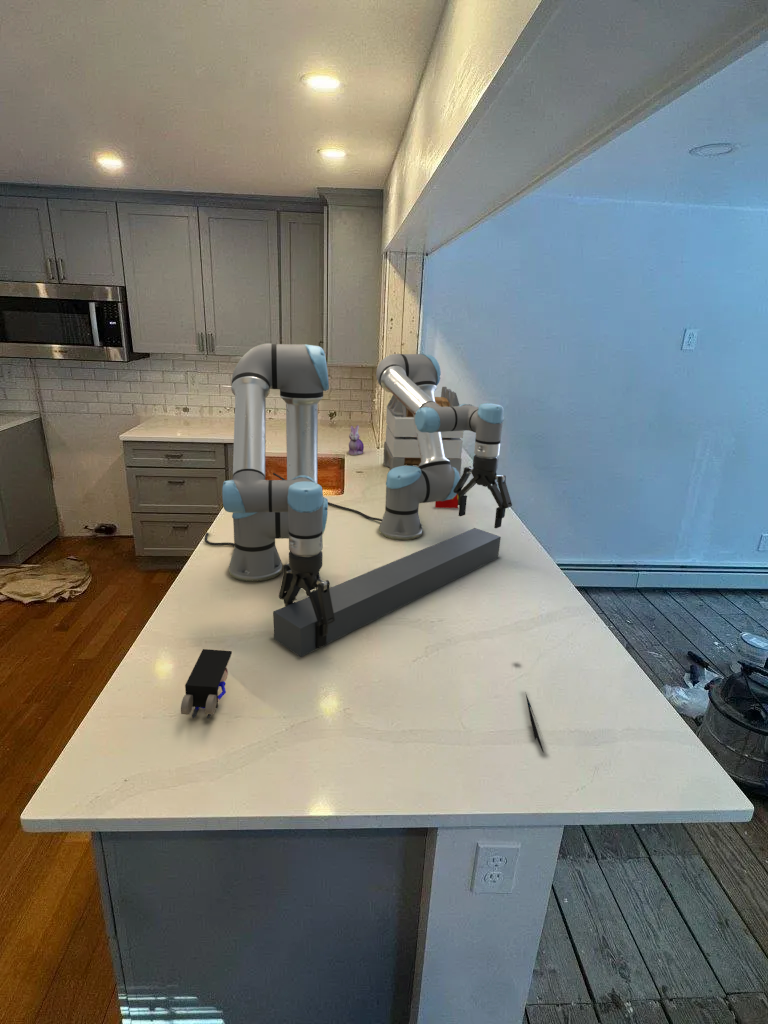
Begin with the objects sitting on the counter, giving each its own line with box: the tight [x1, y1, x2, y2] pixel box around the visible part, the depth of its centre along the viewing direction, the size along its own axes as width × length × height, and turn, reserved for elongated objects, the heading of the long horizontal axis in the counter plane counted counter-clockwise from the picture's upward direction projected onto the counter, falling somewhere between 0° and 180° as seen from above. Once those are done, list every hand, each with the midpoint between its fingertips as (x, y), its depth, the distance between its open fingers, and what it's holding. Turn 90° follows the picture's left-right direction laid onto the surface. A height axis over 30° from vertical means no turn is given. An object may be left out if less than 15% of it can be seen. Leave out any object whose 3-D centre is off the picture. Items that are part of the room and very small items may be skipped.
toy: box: [434, 494, 459, 509], centre depth 239 cm, size 12×13×30 cm
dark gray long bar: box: [272, 527, 502, 658], centre depth 158 cm, size 82×10×8 cm, turn 137°
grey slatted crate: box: [383, 386, 464, 476], centre depth 268 cm, size 34×33×41 cm
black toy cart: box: [180, 648, 233, 720], centre depth 111 cm, size 7×8×15 cm
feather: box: [525, 691, 547, 753], centre depth 115 cm, size 2×28×2 cm
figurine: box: [348, 424, 365, 456], centre depth 304 cm, size 9×10×15 cm
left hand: (305, 636), depth 135 cm, fingers closed on dark gray long bar, 10 cm apart
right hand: (479, 521), depth 179 cm, fingers open, 13 cm apart
